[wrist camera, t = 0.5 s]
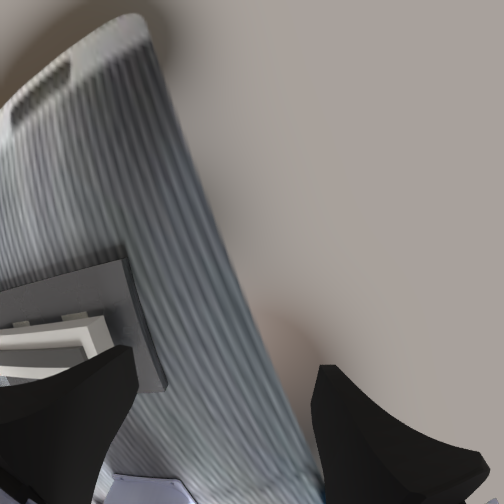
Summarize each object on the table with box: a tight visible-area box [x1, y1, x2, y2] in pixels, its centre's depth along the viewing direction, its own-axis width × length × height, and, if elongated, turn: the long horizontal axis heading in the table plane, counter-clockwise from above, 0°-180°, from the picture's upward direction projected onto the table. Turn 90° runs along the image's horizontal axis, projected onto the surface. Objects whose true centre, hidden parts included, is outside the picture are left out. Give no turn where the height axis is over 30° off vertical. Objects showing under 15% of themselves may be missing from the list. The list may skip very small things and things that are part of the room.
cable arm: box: [0, 315, 114, 379], centre depth 16 cm, size 20×4×3 cm, turn 102°
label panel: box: [0, 257, 168, 393], centre depth 19 cm, size 22×11×2 cm, turn 102°
